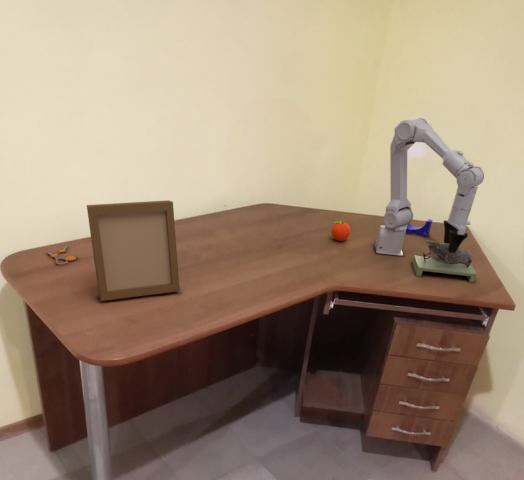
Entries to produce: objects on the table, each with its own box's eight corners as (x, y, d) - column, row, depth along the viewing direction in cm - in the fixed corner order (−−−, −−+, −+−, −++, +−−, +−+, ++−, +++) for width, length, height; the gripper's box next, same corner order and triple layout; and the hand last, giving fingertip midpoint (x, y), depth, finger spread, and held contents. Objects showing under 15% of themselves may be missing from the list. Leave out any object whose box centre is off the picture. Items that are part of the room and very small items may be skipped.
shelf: (416, 275, 172) (418, 267, 170) (412, 263, 180) (414, 255, 179) (474, 282, 171) (476, 274, 170) (467, 269, 180) (469, 261, 178)
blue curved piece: (396, 229, 207) (399, 215, 203) (399, 226, 210) (403, 212, 207) (425, 237, 202) (429, 223, 198) (428, 234, 205) (432, 220, 202)
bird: (470, 271, 171) (477, 250, 167) (421, 264, 173) (426, 243, 169) (468, 264, 176) (475, 244, 171) (420, 257, 177) (425, 237, 173)
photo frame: (179, 294, 149) (178, 208, 135) (101, 304, 141) (91, 214, 127) (166, 271, 160) (164, 191, 146) (93, 279, 152) (83, 195, 138)
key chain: (78, 262, 160) (78, 260, 160) (54, 266, 157) (53, 263, 156) (68, 246, 169) (68, 244, 168) (45, 250, 166) (44, 247, 165)
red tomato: (325, 241, 191) (328, 222, 187) (329, 234, 196) (332, 216, 193) (347, 245, 189) (350, 226, 185) (350, 238, 195) (353, 220, 191)
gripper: (480, 216, 157) (466, 257, 165) (469, 201, 169) (456, 240, 177) (456, 213, 157) (444, 255, 165) (447, 198, 169) (436, 238, 177)
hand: (449, 247), depth 171 cm, fingers open, 7 cm apart
